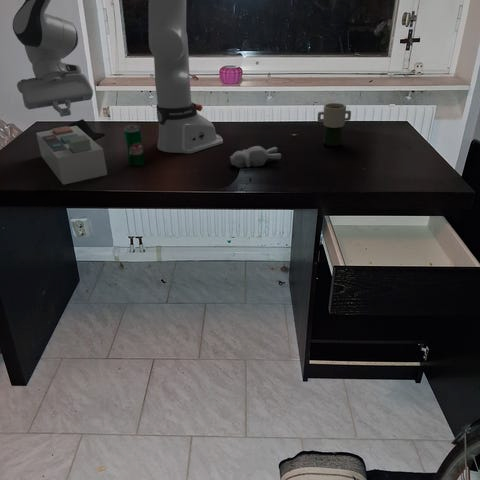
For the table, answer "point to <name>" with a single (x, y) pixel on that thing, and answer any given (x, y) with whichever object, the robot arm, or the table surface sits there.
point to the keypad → (71, 157)
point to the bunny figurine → (253, 156)
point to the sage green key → (79, 144)
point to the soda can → (134, 145)
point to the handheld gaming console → (86, 129)
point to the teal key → (64, 138)
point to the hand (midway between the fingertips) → (66, 115)
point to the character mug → (333, 122)
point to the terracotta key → (62, 130)
